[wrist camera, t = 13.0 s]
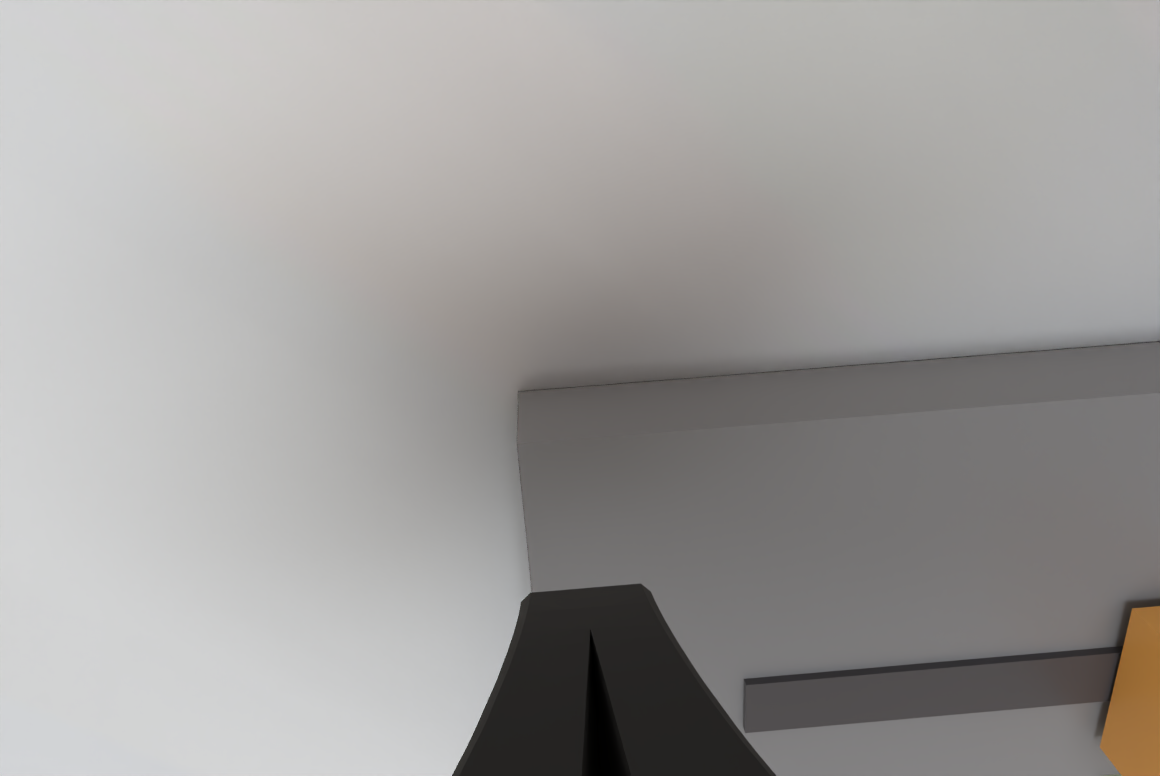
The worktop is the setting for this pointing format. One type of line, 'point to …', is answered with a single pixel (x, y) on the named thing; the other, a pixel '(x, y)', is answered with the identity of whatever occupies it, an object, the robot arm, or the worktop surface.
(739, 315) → the worktop surface
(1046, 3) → the worktop surface
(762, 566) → the breaker panel
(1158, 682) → the block
